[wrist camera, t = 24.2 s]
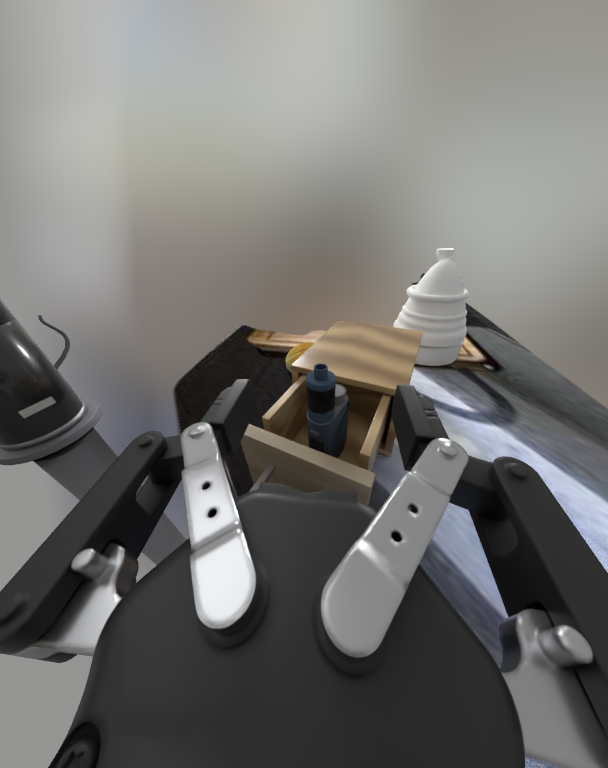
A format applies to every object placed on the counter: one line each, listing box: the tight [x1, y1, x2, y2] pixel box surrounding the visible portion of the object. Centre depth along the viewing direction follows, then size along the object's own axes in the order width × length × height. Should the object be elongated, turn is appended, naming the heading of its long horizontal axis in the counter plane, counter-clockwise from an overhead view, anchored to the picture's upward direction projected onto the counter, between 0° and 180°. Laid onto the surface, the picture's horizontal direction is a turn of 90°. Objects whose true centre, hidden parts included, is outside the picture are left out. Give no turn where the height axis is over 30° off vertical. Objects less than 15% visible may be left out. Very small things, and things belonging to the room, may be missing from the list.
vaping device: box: [306, 363, 349, 459], centre depth 22 cm, size 3×5×12 cm, turn 145°
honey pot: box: [394, 248, 469, 366], centre depth 42 cm, size 13×13×18 cm
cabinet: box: [291, 320, 423, 457], centre depth 32 cm, size 16×13×10 cm
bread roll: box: [286, 343, 314, 373], centre depth 44 cm, size 8×9×4 cm
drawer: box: [241, 374, 394, 505], centre depth 23 cm, size 19×11×8 cm, turn 152°
